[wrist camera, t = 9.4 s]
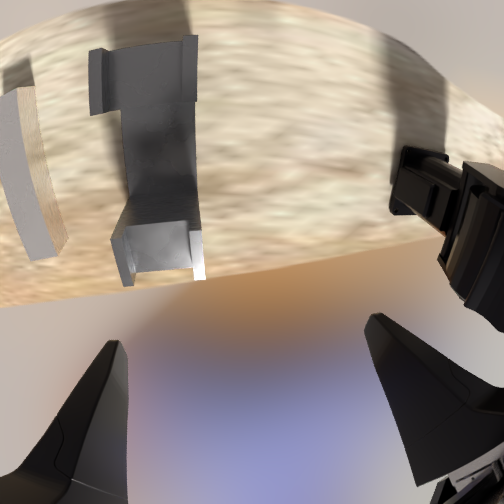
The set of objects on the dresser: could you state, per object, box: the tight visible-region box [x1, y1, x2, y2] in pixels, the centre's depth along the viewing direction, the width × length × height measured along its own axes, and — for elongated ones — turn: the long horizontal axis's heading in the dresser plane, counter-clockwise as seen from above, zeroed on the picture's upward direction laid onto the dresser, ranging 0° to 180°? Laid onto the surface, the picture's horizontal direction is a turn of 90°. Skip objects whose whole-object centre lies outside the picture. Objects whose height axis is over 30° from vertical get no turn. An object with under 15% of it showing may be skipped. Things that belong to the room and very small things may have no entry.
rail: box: [0, 86, 69, 261], centre depth 13 cm, size 3×12×3 cm, turn 1°
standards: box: [88, 35, 206, 287], centre depth 13 cm, size 5×12×6 cm, turn 178°
